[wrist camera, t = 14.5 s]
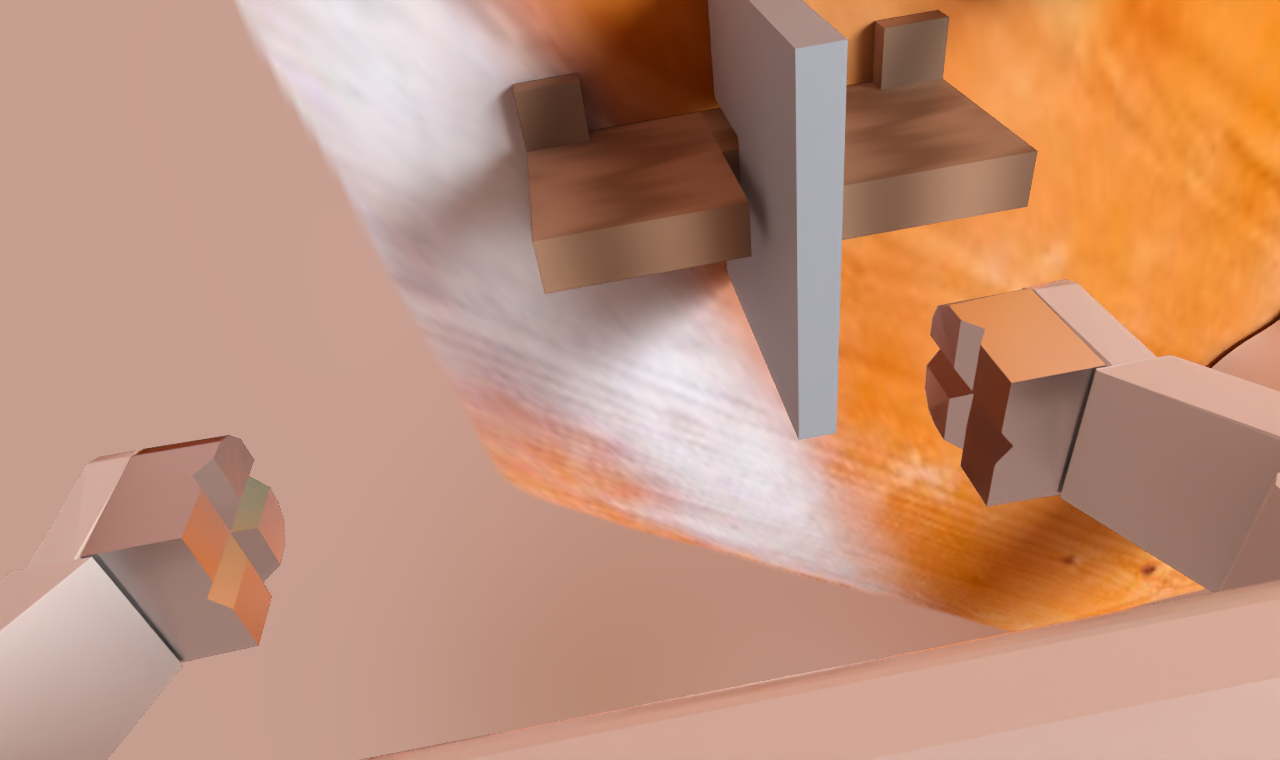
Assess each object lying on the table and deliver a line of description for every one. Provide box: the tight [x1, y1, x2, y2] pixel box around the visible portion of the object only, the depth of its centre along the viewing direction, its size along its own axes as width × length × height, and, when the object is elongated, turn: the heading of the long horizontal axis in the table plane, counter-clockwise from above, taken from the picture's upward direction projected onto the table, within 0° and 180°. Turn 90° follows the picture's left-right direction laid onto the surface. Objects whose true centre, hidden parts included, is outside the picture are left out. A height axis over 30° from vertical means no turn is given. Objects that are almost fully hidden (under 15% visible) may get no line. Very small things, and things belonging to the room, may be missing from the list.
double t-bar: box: [513, 10, 1037, 294], centre depth 37 cm, size 20×8×10 cm, turn 97°
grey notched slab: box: [708, 0, 848, 440], centre depth 35 cm, size 16×2×14 cm, turn 7°
